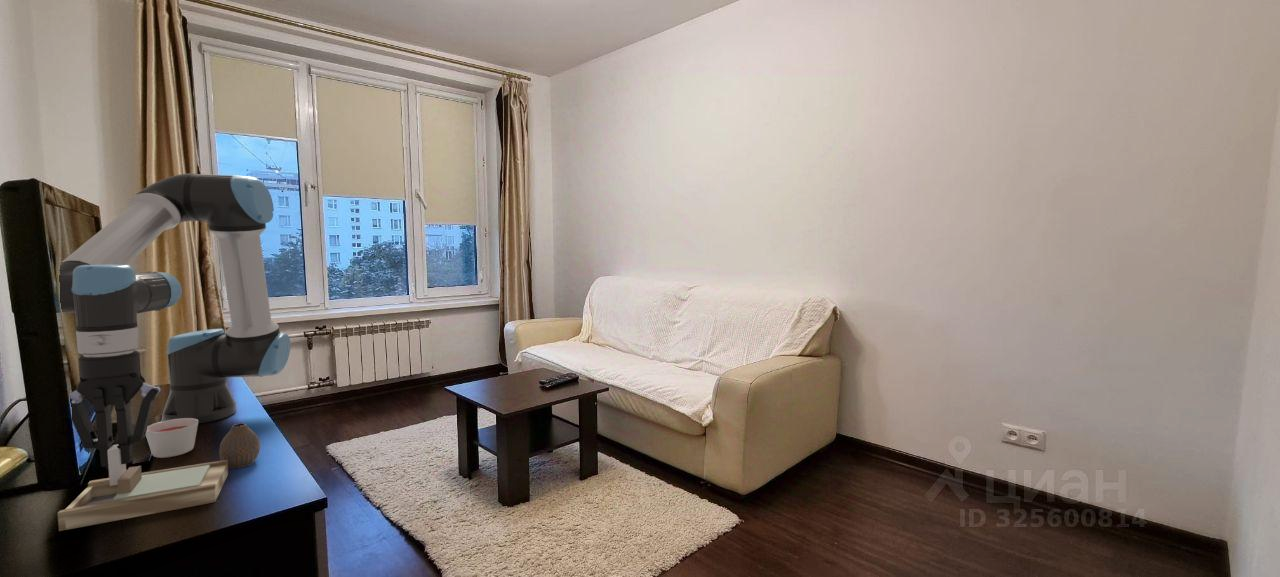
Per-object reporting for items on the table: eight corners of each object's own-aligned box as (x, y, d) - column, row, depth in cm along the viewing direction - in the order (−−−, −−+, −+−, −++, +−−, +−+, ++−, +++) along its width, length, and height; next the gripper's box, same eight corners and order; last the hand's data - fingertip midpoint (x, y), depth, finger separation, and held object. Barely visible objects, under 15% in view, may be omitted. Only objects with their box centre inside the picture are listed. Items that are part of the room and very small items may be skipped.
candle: (137, 463, 110) (135, 434, 109) (156, 447, 118) (154, 420, 117) (191, 456, 113) (189, 428, 113) (205, 442, 122) (204, 416, 121)
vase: (238, 473, 106) (236, 432, 105) (211, 469, 107) (209, 429, 107) (268, 459, 113) (267, 420, 112) (242, 456, 114) (241, 418, 113)
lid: (132, 479, 97) (131, 464, 96) (210, 467, 102) (209, 452, 102) (113, 502, 88) (111, 485, 88) (198, 487, 94) (198, 471, 94)
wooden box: (91, 496, 95) (90, 480, 95) (228, 474, 105) (227, 459, 105) (58, 531, 84) (57, 513, 84) (215, 502, 94) (214, 485, 94)
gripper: (45, 360, 84) (56, 499, 86) (152, 353, 90) (160, 482, 92) (66, 351, 90) (76, 481, 92) (165, 345, 97) (172, 466, 99)
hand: (118, 481), depth 92 cm, fingers closed
